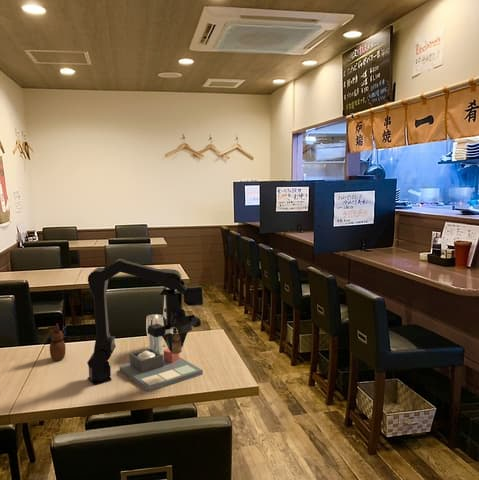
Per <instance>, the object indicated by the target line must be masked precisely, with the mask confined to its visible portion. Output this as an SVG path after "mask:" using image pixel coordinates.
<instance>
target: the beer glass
mask: <svg viewBox="0 0 479 480" xmlns="http://www.w3.org/2000/svg"><path fill="white" fill-rule="evenodd" d="M145 323H146V324H145V326H146V327H145V328H146V329H145V330H146V335H147V341H148V349H150V348H152V349H153V350H155V351H157V352H158V353H160V354H162V355H163V354H164V348H163V337H162V336H160V337H153V336H152V335H150V334H148V330H147V329H148V327H149V326H150V325H154V324H160V325H162V326H164V325H165V322H164V316H163V314H157V313H156V314H148V315H147V316H146V321H145Z"/></svg>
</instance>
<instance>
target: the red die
mask: <svg viewBox="0 0 479 480" xmlns="http://www.w3.org/2000/svg"><path fill="white" fill-rule="evenodd" d="M163 354H164V361H167V362H170V363H173V362H175V361H177V360H179V357H180V353H178V354H172V353H170V350H169V349H168V348H166V349H163Z"/></svg>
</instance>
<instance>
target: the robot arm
mask: <svg viewBox="0 0 479 480" xmlns="http://www.w3.org/2000/svg"><path fill="white" fill-rule="evenodd" d="M120 273H123V274H126V275H130V276H134V277H138V278H142V279H145V280H148V281H153V282H155V283H157V284H158V285H160V286H162V287H163V288H162V290H160V291H159V296H164V295H165V300H166V308H165V309H164V308H163V309H164V312H166V319H164V326H162V325H160V324H154V325H150V326H149V327H148V329H147V330H148V334H150V335H152V336H153V337H160V336H162V337H163V338H162V340H164V343H166V344H167V346H166V347H167V349H169V350H170V351H172V342H171V337H172V335H173V334H174V333H173V334H171V333H170V330H171V329H173V330H174V329H176V331H177V333H178V334H179V335H180V340H181V347H182V348H183V347H184V344H185V340H186V337H187V335H188V333H190V331H193V328H198V327H201V326H202V320H201V318H200V317H198V316H196V315H195V314H191V315H186V311H185V309H184V308H183V303H184V304H185V305H186V307H193V306H194V307H197V306H199V307H200V306H204V294H203V286H202V285H197V286H188V285H187V283H186V282H185V281H184V280H183V278H182V274H181V272H180V271H179V270H178V269H171V268H155V267H153V266H148V265H144V264H141V263H140V264H139V263H137V262H133V261H129V260H125V259H124V258H119V259H117V260H116V261H113V262H112V263H110V264H107V265H106V266H104V267H97V268H95V269H93V271H91V272H90V273H89V274H88V276H87V282H88V286H89V290H90V292H91V295H92V297H93V307H94V318H95V332H96V334H95V335H96V336H95V337H96V338H95V342H94V349H93V352H92V354H91V356H90V358H89V359H88V360H87V365H88V377H86V378H87V380H88V381H89V382H90V383H91V384H92V385H95V386H96V385H100V384H103V383H107V382H109V381H112V377H111V376H112V375H111V374H112V372H111V371H112V370H111V369H112V367H111V365H110V361H108V360H110V358H111V356H112V354H113V353H114V350H115V349H116V347H117V346H116V343H115V339H116V336H115V335H113V336H111V333H110V329H109V316H108V304H107V303H108V302H107V291H108V285H109V279H112V278H113V277H114V276H116V275H118V274H120ZM167 288H168V289H167ZM175 290H176V291H175Z"/></svg>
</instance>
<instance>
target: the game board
mask: <svg viewBox="0 0 479 480" xmlns="http://www.w3.org/2000/svg"><path fill="white" fill-rule="evenodd" d="M144 351H149V352H152V353H154V354H155V357H151V358H148V359H144V360H141V359H140V358H138V354H140V353H142V352H144ZM119 371H120V372H121V373H122V374H124V375H125V376H126V377H128V378H129V379H131V380H132V381H134V382H135V383H137V384H138V385H139V386H140V387H141V388H143V389H144V390H145V391H147V392H152V391H155V390H158V389H161V388H163V387H164V388H165V387H167V386H170V385H173V384H177V383H179V382H182V381H186V380H188V379H191V378H196V377H198V376H200V375H203V374H204V373H203V372H204V371H203V369H201V368H200V367H198V366H197V365H194V364H192V363H191V362H189V361H187V360H186V359H184V358H182V357H181V356H179V360H177V361H175V362H173V363H170V362H167V361H164V353H162V354H160V353H158V352H157V351H155V350H153V349H152V348H150V349H149V348H147V349H143V350H140V351H136V352H132V353H131V352H130V353H129V363H126V364H123V365H120V366H119Z"/></svg>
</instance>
